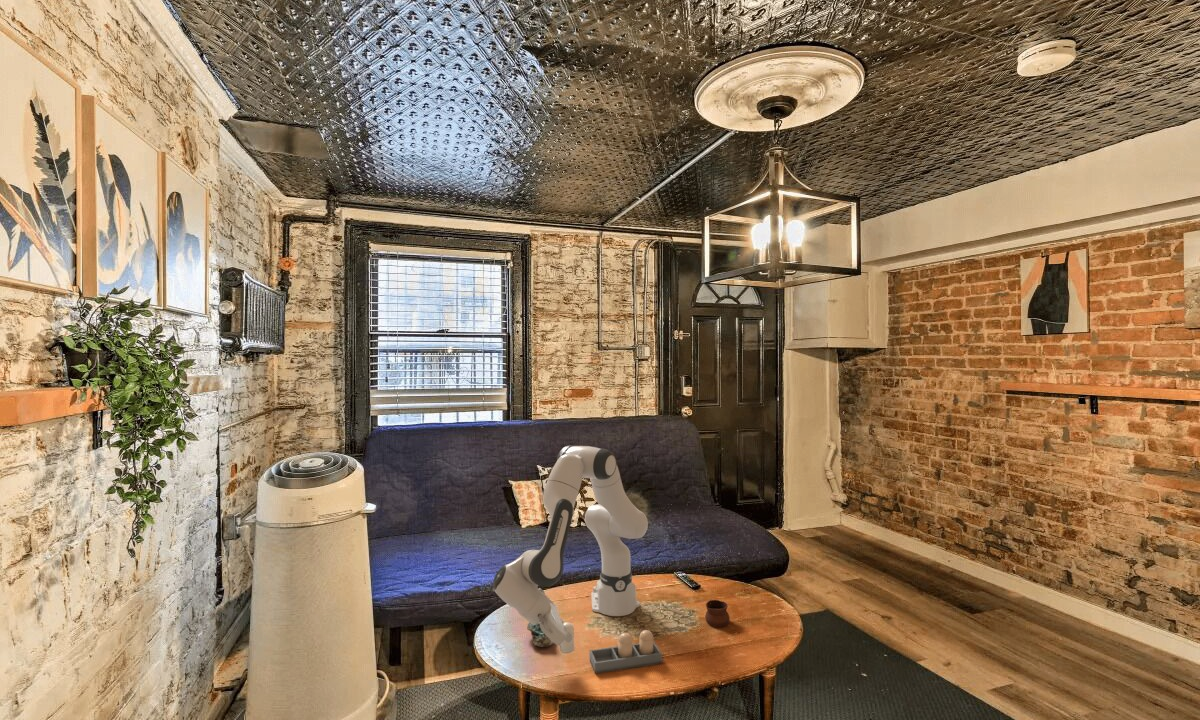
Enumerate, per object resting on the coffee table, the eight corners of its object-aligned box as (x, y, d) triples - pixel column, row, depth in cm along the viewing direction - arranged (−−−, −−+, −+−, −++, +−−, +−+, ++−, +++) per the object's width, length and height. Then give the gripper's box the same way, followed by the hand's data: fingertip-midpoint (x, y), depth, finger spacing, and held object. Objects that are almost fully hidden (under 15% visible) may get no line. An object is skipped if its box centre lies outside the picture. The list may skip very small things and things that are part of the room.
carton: (589, 660, 175) (589, 632, 175) (653, 650, 180) (653, 623, 180) (595, 673, 168) (594, 644, 167) (661, 663, 173) (661, 635, 173)
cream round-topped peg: (558, 646, 171) (558, 620, 171) (572, 644, 172) (572, 618, 172) (561, 654, 167) (560, 627, 167) (575, 652, 168) (574, 625, 168)
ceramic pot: (686, 629, 195) (686, 609, 195) (699, 608, 211) (699, 590, 211) (737, 640, 187) (737, 620, 187) (747, 617, 203) (747, 598, 203)
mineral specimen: (525, 632, 191) (525, 614, 188) (550, 624, 195) (551, 607, 192) (534, 661, 181) (534, 643, 178) (561, 653, 184) (561, 635, 181)
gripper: (548, 615, 157) (582, 644, 160) (539, 585, 177) (569, 611, 180) (533, 633, 156) (567, 661, 159) (525, 600, 176) (556, 626, 179)
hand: (568, 634), depth 170 cm, fingers closed on cream round-topped peg, 4 cm apart
